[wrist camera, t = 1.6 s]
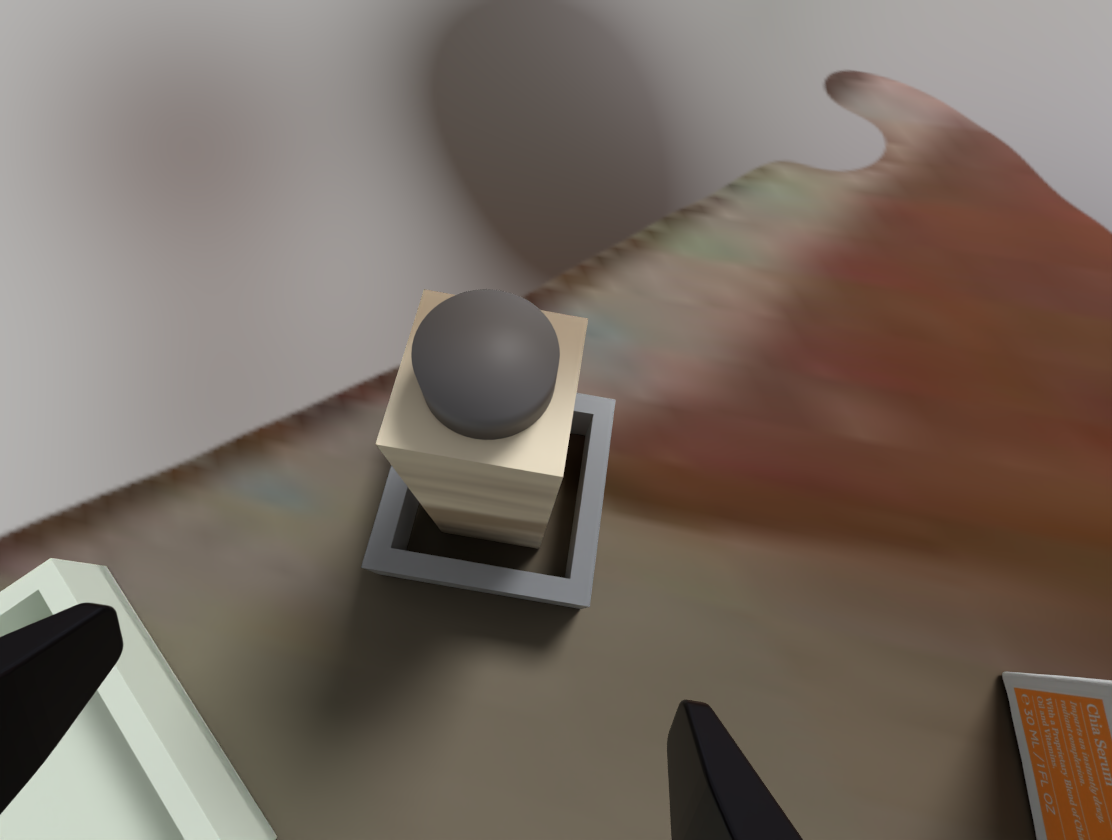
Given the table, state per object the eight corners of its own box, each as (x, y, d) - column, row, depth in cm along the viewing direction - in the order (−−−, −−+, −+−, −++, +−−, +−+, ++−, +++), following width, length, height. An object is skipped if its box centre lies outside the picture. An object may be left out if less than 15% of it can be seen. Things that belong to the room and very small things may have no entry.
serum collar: (580, 608, 20) (589, 606, 18) (378, 574, 20) (361, 567, 18) (605, 422, 23) (615, 399, 21) (430, 391, 23) (420, 365, 21)
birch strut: (539, 548, 21) (568, 459, 10) (441, 532, 21) (359, 423, 10) (554, 456, 22) (595, 288, 11) (464, 440, 22) (415, 255, 11)
